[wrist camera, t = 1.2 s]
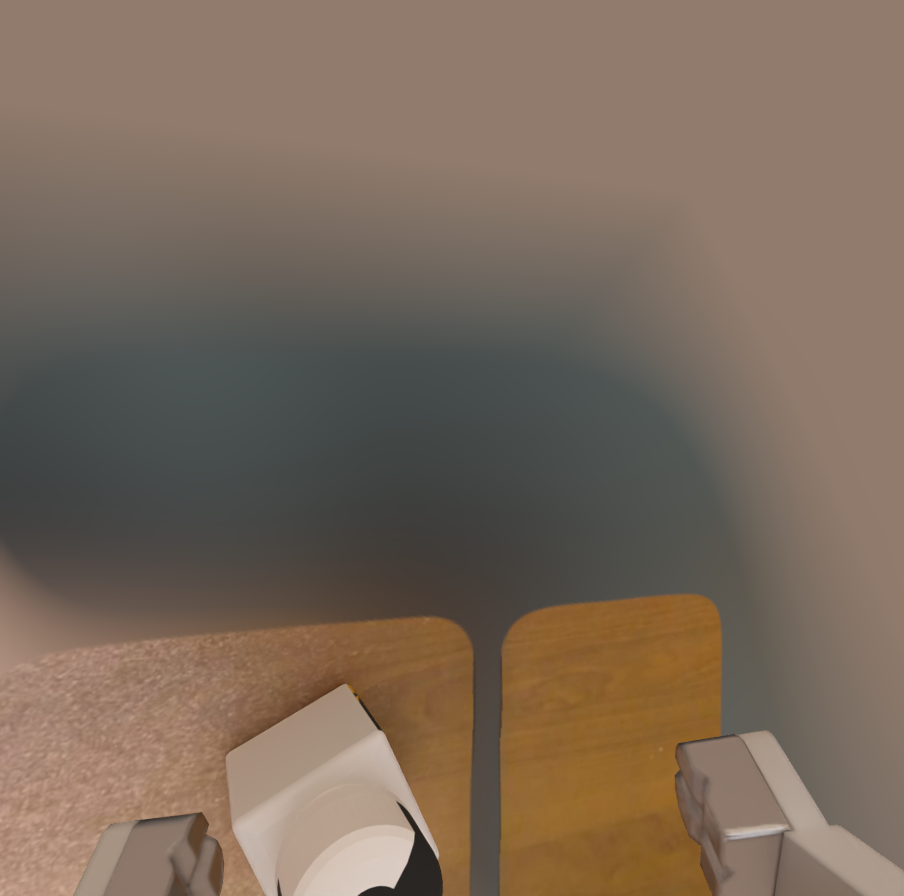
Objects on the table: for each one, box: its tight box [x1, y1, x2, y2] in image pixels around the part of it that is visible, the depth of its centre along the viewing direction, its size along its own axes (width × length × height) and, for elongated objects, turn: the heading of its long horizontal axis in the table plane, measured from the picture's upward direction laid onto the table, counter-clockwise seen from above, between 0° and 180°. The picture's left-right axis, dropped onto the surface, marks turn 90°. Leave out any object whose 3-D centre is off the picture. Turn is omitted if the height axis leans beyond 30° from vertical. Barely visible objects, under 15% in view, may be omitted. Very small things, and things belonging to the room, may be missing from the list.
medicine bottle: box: [225, 684, 443, 896], centre depth 28 cm, size 7×7×12 cm
